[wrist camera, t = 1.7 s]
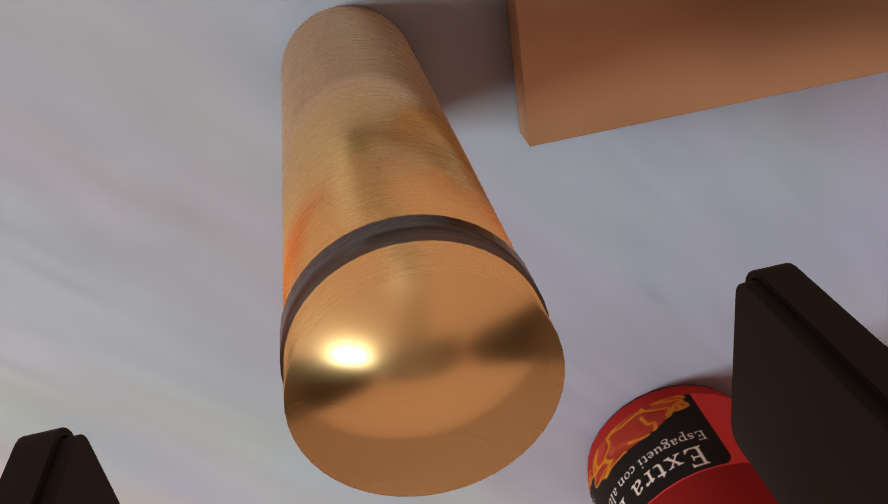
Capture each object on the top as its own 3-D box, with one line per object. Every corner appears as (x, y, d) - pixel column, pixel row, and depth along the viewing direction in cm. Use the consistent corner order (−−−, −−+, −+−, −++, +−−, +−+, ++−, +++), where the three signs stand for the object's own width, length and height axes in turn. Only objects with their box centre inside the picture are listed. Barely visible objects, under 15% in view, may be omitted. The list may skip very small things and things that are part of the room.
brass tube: (264, 19, 23) (244, 307, 10) (404, -9, 23) (557, 238, 10) (298, 149, 25) (317, 525, 12) (426, 123, 25) (576, 462, 13)
